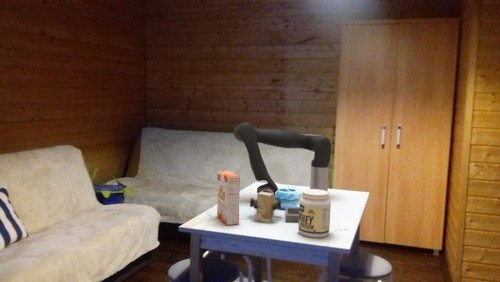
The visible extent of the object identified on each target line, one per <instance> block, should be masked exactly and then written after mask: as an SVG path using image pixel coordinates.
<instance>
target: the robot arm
mask: <svg viewBox="0 0 500 282" xmlns="http://www.w3.org/2000/svg"><path fill="white" fill-rule="evenodd" d="M233 136H234V138H235V139H236V140H237V141H239V142H240V143H241V142H243V144H244V146H245V148H246V150H247V154H248V158H249V159H248V160H249V164H250V168H251V171H252V173H253V175H254V179H255V180H256V181H257V182H261V181H266V182H267V183H264V184H261V185H259V186H258V187H257V189H256V192H257V193H256V194H257V195H258V193H260V192H267V193H273V194H274V204H273V211H275V210H277V209H281V208H282V199H278V200H276V199H275V196H276V195H275V192H276V191H277V190H278V191H279V188H278V185H277V184H276V182H275V181H274V179H272V177H271V176H270V173H269V172H268V169H267V166H266V164H265V161H264V159H263V157H262V153H261V150H260V147H259V143H260V144H263V145H268V146H271V147H276V148H283V149H303V150H306V151H307V150H308V151H311V152H313V153H314V156H313V159H312V160H311V162H310V163H311V164H310V188H309V189H319V190H324V191H327V192H329V191H328V189H329V169H330V166H329V165H330V162H331V158H332V157H331V156H332V142H331V139H329V138H328V137H326V136H322V135H310V134H309V135H308V134H301V133H298V132H295V131H292V130H287V129H280V128H259V127H258V128H257V127H254V125H253V124H252V123H249V122H248V121H247V122H242V123H239V124H238V125H237V126H235V128H234V130H233ZM249 207H250V208H253V209H255V210H257V199H254V198H253V197H252V198H250V203H249Z"/></svg>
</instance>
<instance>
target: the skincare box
mask: <svg viewBox="0 0 500 282" xmlns="http://www.w3.org/2000/svg"><path fill="white" fill-rule="evenodd" d="M274 197H275V195H274V194H273V193H267V192H260V193H258V194H257V198H256V200H257V209H256V216H255V219H256V221H257V222H261V223H267V224H270V223H271V222H273V219H274V210H273V204H274V199H275V198H274Z"/></svg>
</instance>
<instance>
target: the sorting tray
mask: <svg viewBox="0 0 500 282" xmlns="http://www.w3.org/2000/svg"><path fill="white" fill-rule="evenodd" d="M284 212H285V214H284V215H285V223H292V224H295V223H296V224H297V223H298V224H299V207H285V211H284Z"/></svg>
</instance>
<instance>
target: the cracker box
mask: <svg viewBox="0 0 500 282" xmlns="http://www.w3.org/2000/svg"><path fill="white" fill-rule="evenodd" d="M240 180H241V177H240V175H238V174H236V173H235V172H233V171H232V170H230V169H228V170H227V169H225V170H224V169H223V170H217V190H216V191H217V194H216V197H217V199H216V201H217V203H216V204H217V207H216V209H217V211H216V216H217V217H218V219H219V220H220V221H222V222H223V224H225V226H234V225H235V226H236V225H240V188H241V186H240V184H241V181H240Z"/></svg>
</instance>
